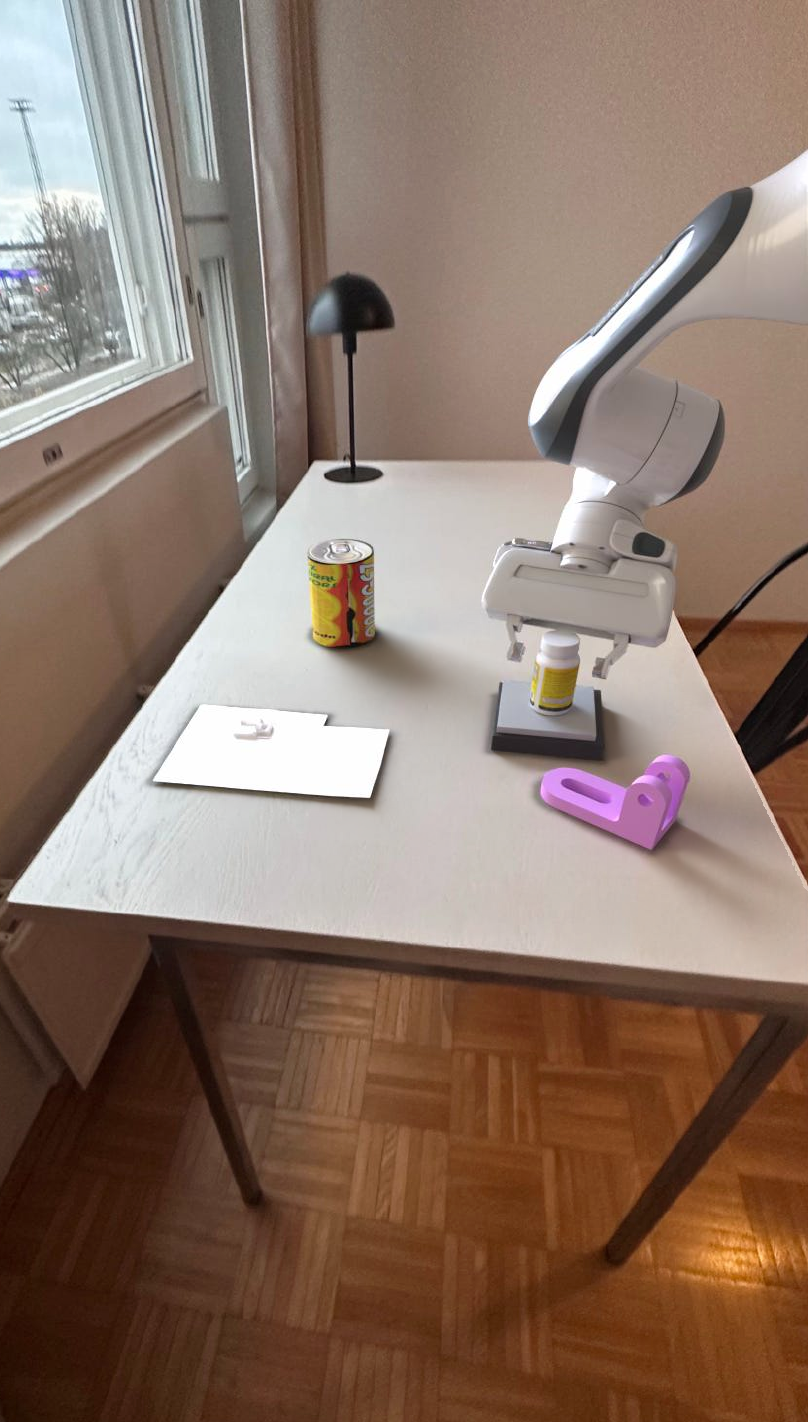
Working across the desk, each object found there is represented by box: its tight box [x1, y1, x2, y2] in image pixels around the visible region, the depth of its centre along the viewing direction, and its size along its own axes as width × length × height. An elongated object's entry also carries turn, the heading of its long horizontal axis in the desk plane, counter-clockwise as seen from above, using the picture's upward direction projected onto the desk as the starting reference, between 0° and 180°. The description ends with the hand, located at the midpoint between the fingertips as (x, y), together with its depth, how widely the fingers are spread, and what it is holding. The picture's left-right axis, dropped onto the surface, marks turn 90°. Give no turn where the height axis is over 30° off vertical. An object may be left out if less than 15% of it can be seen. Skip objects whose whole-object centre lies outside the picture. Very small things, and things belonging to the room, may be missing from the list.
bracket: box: [540, 754, 691, 851], centre depth 72 cm, size 13×6×7 cm, turn 49°
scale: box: [490, 679, 606, 761], centre depth 85 cm, size 12×12×3 cm
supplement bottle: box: [529, 630, 581, 716], centre depth 81 cm, size 5×5×8 cm
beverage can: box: [306, 538, 376, 649], centre depth 102 cm, size 9×9×12 cm
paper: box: [152, 704, 390, 799], centre depth 84 cm, size 25×17×1 cm
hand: (555, 668), depth 80 cm, fingers open, 8 cm apart
